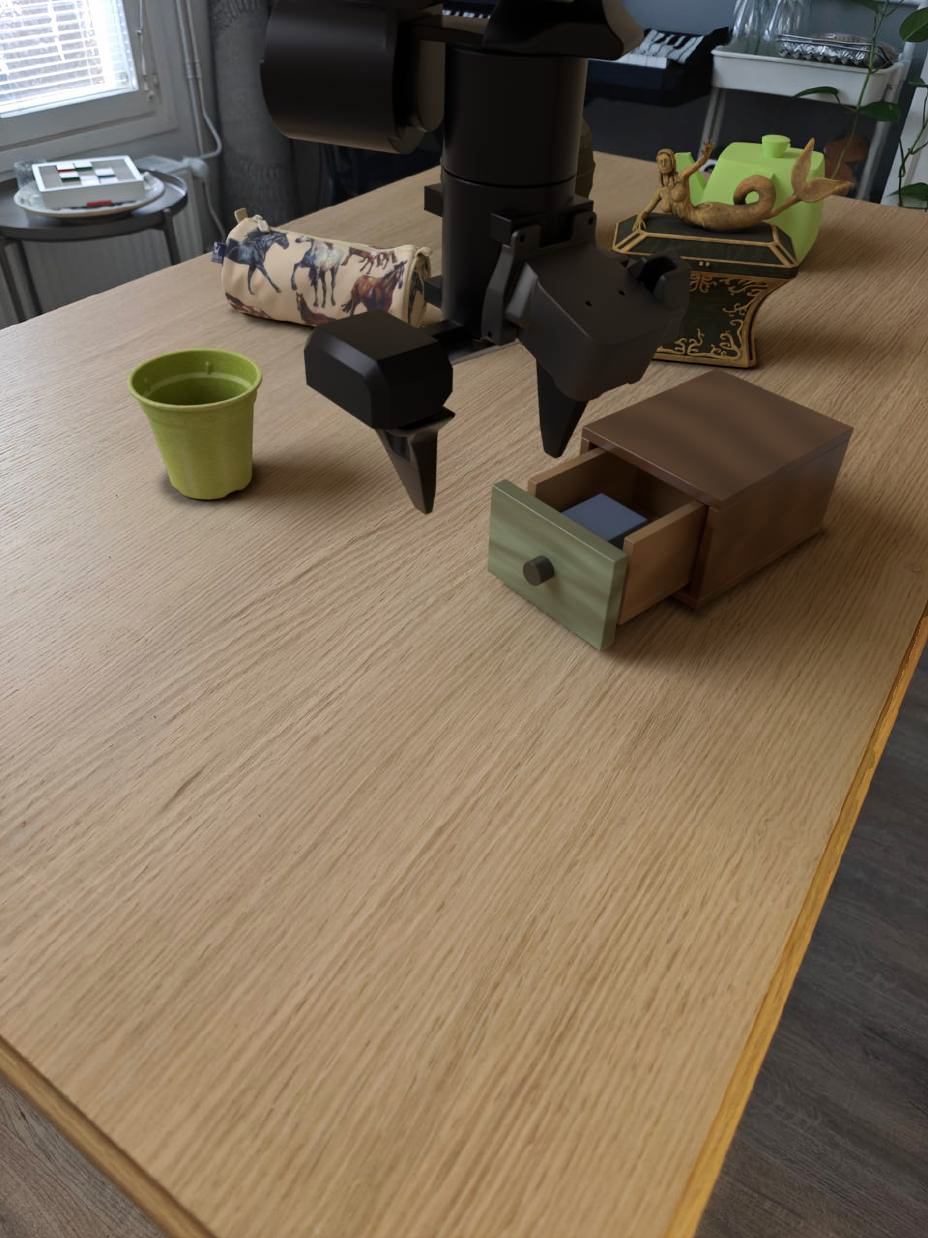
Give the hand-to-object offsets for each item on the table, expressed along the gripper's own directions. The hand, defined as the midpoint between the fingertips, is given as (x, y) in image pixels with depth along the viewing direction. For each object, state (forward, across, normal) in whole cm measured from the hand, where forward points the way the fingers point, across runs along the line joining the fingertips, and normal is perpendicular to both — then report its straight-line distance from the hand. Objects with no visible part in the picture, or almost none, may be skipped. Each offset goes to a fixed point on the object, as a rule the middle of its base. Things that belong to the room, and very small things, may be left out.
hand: (490, 481), depth 50 cm
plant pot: (+13, -4, +28) cm, 31 cm away
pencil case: (+13, +20, +47) cm, 53 cm away
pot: (+13, +50, +52) cm, 74 cm away
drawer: (+11, +11, 0) cm, 16 cm away
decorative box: (+12, +47, +20) cm, 52 cm away
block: (+10, +10, 0) cm, 14 cm away
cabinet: (+12, +21, 0) cm, 24 cm away
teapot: (+12, +73, +37) cm, 83 cm away
